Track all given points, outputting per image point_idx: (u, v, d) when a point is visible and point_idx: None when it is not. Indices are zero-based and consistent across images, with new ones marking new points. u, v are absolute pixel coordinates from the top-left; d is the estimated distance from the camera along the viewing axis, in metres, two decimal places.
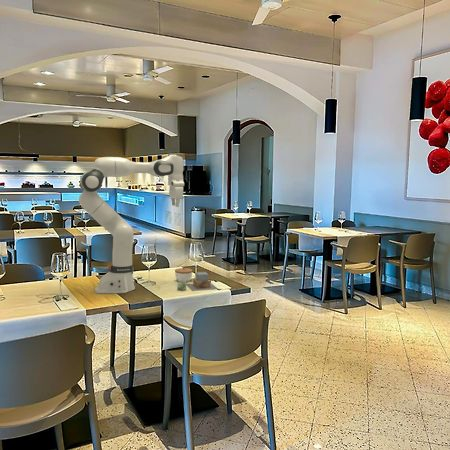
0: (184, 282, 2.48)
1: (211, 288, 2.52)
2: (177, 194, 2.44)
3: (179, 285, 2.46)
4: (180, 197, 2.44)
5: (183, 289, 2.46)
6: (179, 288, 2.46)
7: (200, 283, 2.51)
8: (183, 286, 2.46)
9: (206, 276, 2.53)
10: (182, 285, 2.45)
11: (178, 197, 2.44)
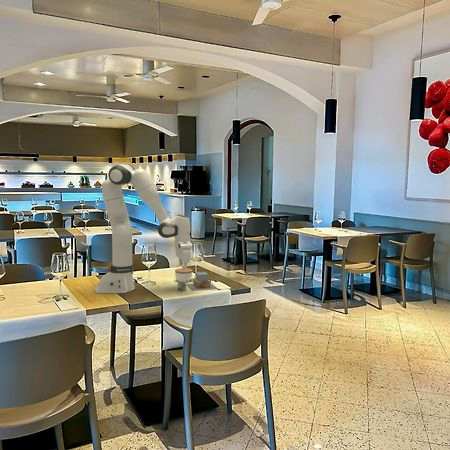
0: (184, 282, 2.48)
1: (211, 288, 2.52)
2: (185, 257, 2.36)
3: (179, 285, 2.46)
4: (188, 260, 2.37)
5: (183, 289, 2.46)
6: (179, 288, 2.46)
7: (200, 283, 2.51)
8: (183, 286, 2.46)
9: (206, 276, 2.53)
10: (182, 285, 2.45)
11: (186, 260, 2.36)
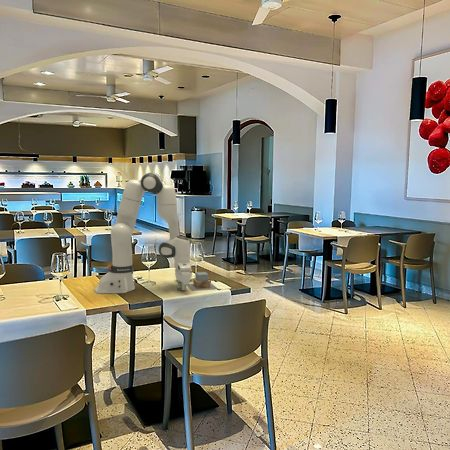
0: None
1: (211, 288, 2.52)
2: (184, 279, 2.37)
3: (179, 285, 2.46)
4: (187, 282, 2.38)
5: None
6: (179, 288, 2.46)
7: (200, 283, 2.51)
8: None
9: (206, 276, 2.53)
10: None
11: (185, 282, 2.38)
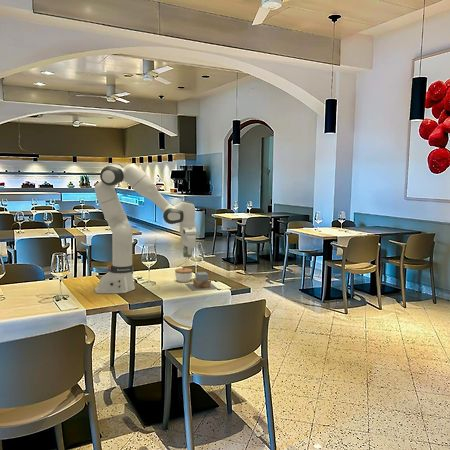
0: None
1: (211, 288, 2.52)
2: (189, 243, 2.37)
3: (185, 250, 2.45)
4: (192, 246, 2.37)
5: None
6: (185, 253, 2.45)
7: (200, 283, 2.51)
8: None
9: (206, 276, 2.53)
10: None
11: (190, 246, 2.37)
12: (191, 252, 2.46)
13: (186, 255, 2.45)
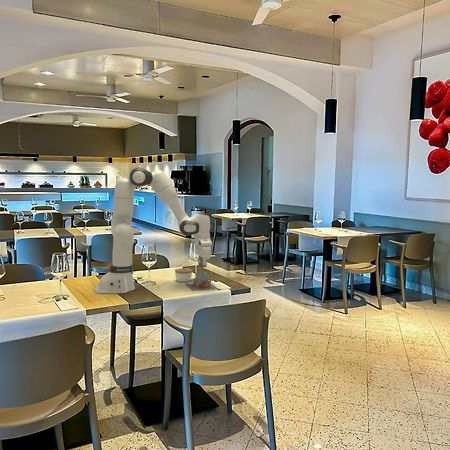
0: None
1: (211, 288, 2.52)
2: (205, 254, 2.44)
3: (200, 260, 2.52)
4: (208, 257, 2.45)
5: None
6: (200, 263, 2.52)
7: (200, 283, 2.51)
8: None
9: (206, 276, 2.53)
10: None
11: (206, 257, 2.44)
12: (206, 262, 2.53)
13: (201, 265, 2.52)
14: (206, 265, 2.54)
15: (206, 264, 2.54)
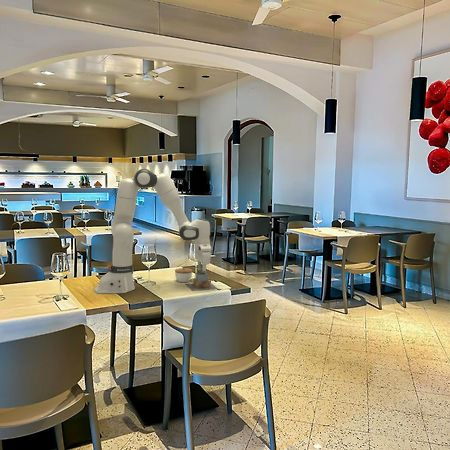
0: None
1: (211, 288, 2.52)
2: (205, 260, 2.44)
3: (199, 267, 2.53)
4: (208, 262, 2.45)
5: (203, 271, 2.53)
6: (199, 270, 2.53)
7: (200, 283, 2.51)
8: None
9: (206, 276, 2.53)
10: None
11: (206, 263, 2.45)
12: None
13: (200, 272, 2.53)
14: (205, 272, 2.54)
15: (205, 271, 2.54)
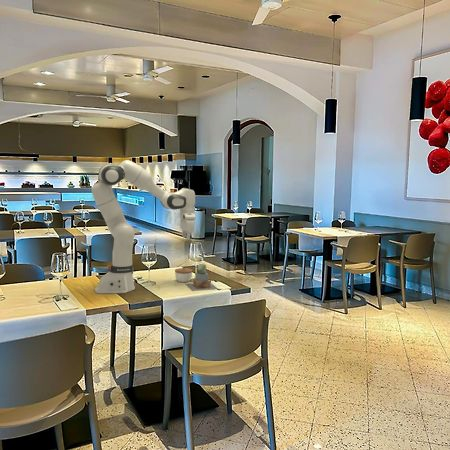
0: (204, 264, 2.55)
1: (211, 288, 2.52)
2: (188, 227, 2.49)
3: (199, 267, 2.53)
4: (191, 230, 2.50)
5: (203, 271, 2.53)
6: (199, 270, 2.53)
7: (200, 283, 2.51)
8: (203, 268, 2.53)
9: (206, 276, 2.53)
10: (202, 267, 2.52)
11: (189, 230, 2.50)
12: (205, 269, 2.54)
13: (200, 272, 2.53)
14: (205, 272, 2.54)
15: (205, 271, 2.54)
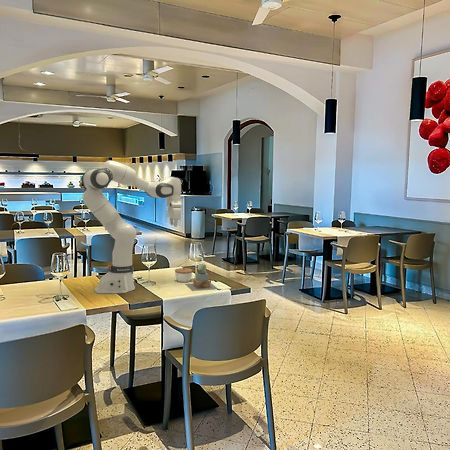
0: (204, 264, 2.55)
1: (211, 288, 2.52)
2: (175, 215, 2.55)
3: (199, 267, 2.53)
4: (178, 218, 2.56)
5: (203, 271, 2.53)
6: (199, 270, 2.53)
7: (200, 283, 2.51)
8: (203, 268, 2.53)
9: (206, 276, 2.53)
10: (202, 267, 2.52)
11: (176, 218, 2.55)
12: (205, 269, 2.54)
13: (200, 272, 2.53)
14: (205, 272, 2.54)
15: (205, 271, 2.54)
